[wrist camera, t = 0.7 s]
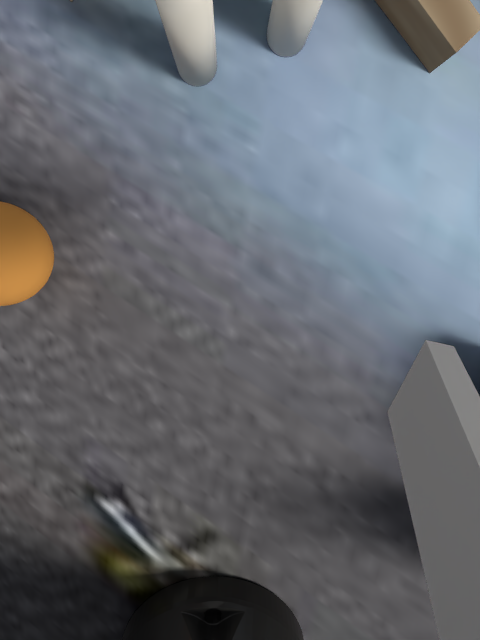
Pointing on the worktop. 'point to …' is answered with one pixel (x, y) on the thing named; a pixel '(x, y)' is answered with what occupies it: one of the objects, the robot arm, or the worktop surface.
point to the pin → (291, 25)
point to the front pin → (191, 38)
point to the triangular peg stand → (433, 26)
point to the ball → (22, 255)
